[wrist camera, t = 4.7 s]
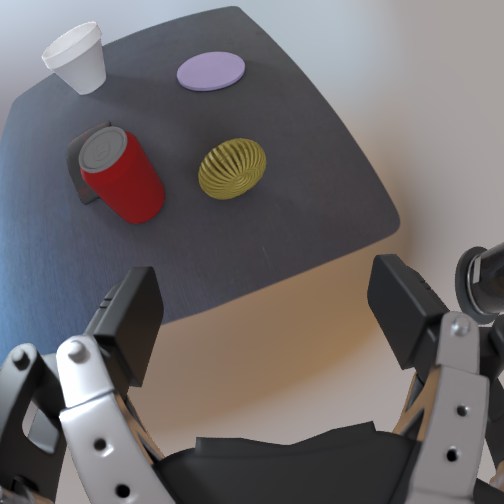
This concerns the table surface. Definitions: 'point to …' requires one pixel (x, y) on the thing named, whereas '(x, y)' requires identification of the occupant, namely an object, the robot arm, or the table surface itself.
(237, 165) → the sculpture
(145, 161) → the beverage can
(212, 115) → the table surface
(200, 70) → the saucer
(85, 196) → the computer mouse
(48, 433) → the robot arm
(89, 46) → the cup
